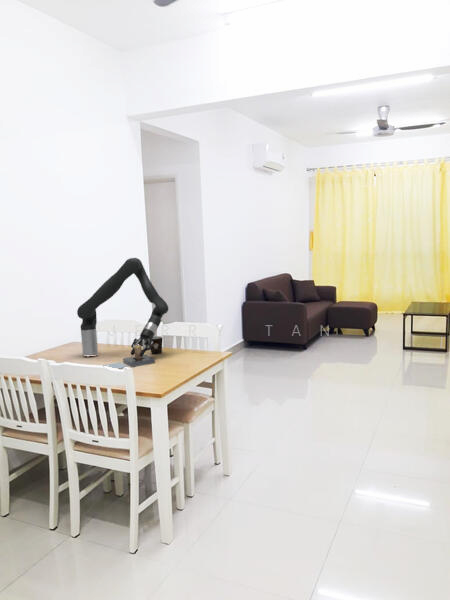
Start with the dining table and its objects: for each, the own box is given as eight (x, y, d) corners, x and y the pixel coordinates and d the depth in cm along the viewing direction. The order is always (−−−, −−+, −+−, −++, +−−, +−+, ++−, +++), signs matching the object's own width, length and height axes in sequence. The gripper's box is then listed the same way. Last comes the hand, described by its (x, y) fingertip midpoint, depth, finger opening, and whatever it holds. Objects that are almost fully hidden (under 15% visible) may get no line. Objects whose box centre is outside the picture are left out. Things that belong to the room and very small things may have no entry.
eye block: (123, 362, 286) (122, 358, 286) (145, 358, 293) (145, 354, 293) (131, 367, 274) (131, 362, 274) (154, 362, 281) (154, 358, 281)
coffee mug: (165, 352, 309) (164, 336, 307) (159, 355, 301) (158, 339, 299) (149, 351, 313) (148, 336, 311) (142, 354, 305) (141, 338, 303)
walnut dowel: (134, 362, 284) (133, 345, 283) (140, 361, 286) (139, 344, 285) (136, 364, 281) (135, 346, 280) (143, 362, 283) (142, 345, 282)
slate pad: (103, 366, 280) (103, 365, 280) (119, 363, 285) (119, 362, 285) (111, 370, 268) (110, 369, 268) (128, 367, 273) (128, 366, 273)
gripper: (136, 327, 291) (123, 350, 283) (154, 328, 283) (141, 352, 275) (143, 334, 296) (131, 357, 288) (161, 335, 288) (148, 359, 280)
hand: (136, 355), depth 282 cm, fingers open, 6 cm apart
